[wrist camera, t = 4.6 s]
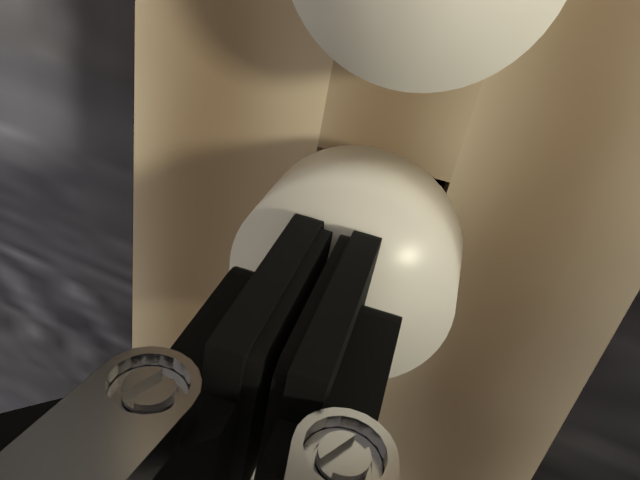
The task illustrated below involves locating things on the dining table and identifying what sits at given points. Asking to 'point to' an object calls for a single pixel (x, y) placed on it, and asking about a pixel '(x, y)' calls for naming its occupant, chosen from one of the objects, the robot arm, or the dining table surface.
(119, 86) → the dining table surface
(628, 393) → the dining table surface
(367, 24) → the white egg
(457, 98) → the board
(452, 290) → the white egg
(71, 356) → the dining table surface
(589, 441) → the dining table surface
